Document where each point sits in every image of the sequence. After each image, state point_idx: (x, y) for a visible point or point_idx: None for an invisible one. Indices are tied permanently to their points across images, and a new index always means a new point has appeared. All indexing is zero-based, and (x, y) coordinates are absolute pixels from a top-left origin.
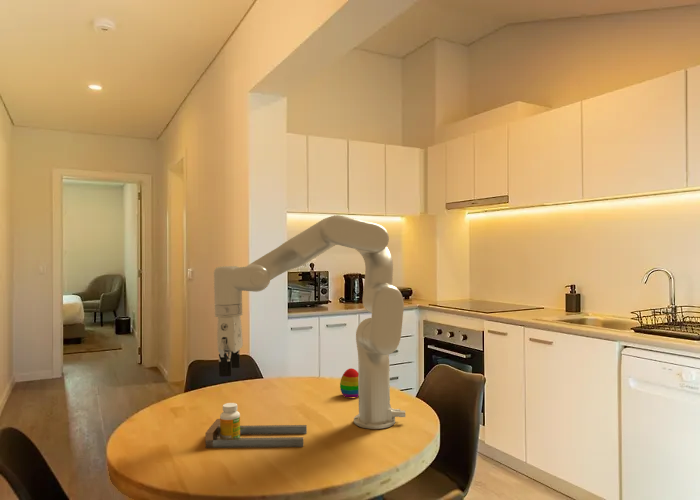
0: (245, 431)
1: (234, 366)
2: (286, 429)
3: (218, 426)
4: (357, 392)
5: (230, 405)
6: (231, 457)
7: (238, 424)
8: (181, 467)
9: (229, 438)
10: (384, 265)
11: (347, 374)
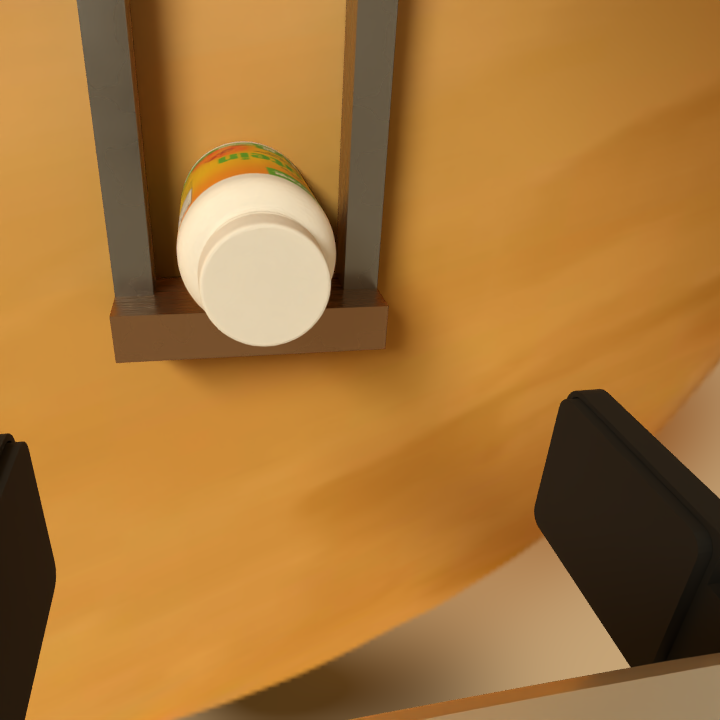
0: (138, 121)
1: (38, 514)
2: None
3: None
4: None
5: (285, 279)
6: (512, 131)
7: (277, 166)
8: (574, 341)
9: (357, 195)
10: None
11: None
